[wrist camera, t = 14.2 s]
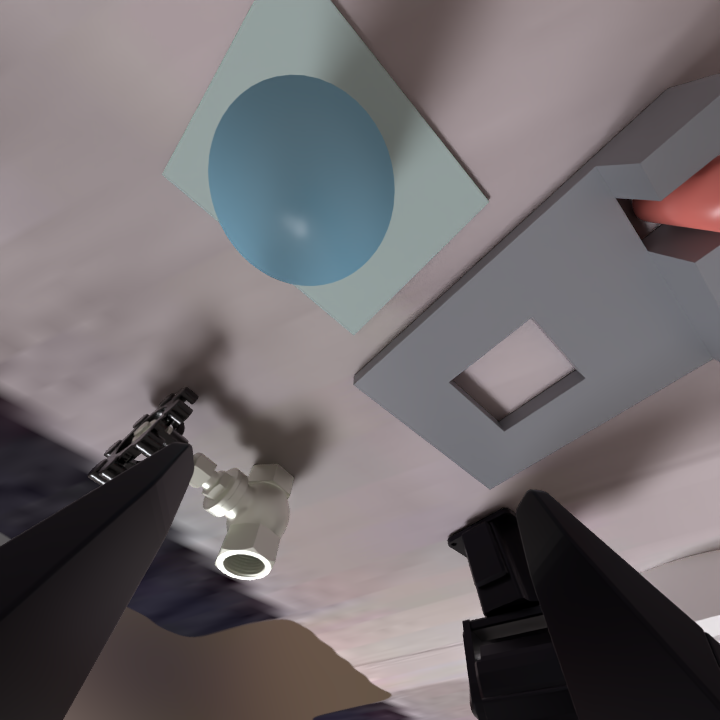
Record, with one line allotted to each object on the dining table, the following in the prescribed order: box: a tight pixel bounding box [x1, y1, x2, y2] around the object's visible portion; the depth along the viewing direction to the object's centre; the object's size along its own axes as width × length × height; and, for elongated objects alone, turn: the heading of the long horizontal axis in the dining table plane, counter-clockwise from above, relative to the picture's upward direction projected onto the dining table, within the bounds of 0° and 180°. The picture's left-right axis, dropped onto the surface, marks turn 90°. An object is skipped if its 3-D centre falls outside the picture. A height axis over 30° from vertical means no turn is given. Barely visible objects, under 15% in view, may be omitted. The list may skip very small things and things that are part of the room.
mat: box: [162, 0, 489, 335], centre depth 15 cm, size 12×10×1 cm
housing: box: [354, 73, 720, 489], centre depth 18 cm, size 14×19×4 cm
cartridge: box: [208, 75, 395, 286], centre depth 11 cm, size 5×5×8 cm
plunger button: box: [632, 155, 720, 232], centre depth 13 cm, size 3×3×4 cm
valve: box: [87, 387, 294, 580], centre depth 21 cm, size 7×7×12 cm
